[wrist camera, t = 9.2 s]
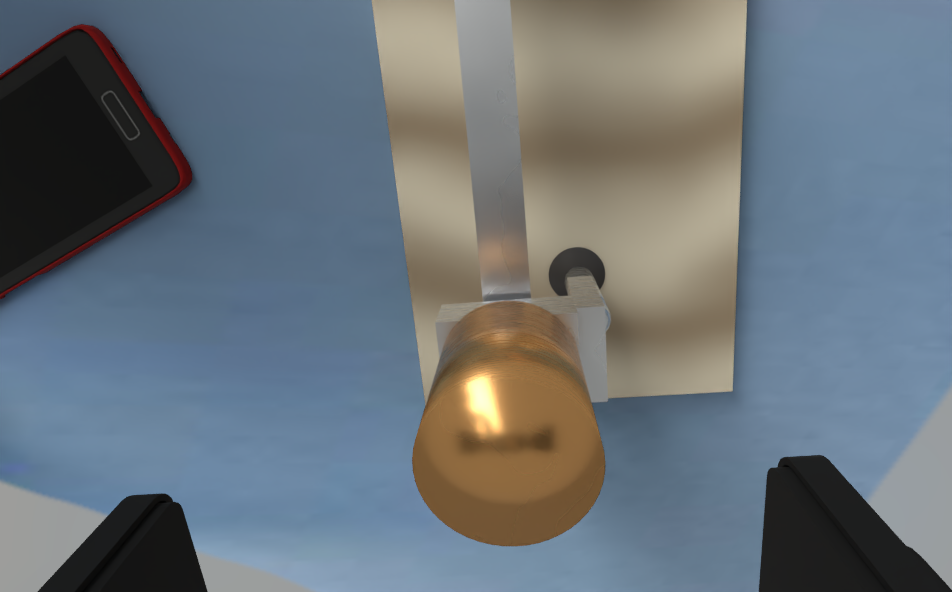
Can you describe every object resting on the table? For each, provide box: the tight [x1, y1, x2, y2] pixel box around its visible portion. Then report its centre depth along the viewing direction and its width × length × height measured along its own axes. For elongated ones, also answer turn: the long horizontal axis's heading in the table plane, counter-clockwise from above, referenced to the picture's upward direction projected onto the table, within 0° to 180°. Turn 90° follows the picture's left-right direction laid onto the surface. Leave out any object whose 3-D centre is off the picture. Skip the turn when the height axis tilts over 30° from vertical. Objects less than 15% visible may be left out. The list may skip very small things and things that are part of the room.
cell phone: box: [0, 24, 192, 299], centre depth 27 cm, size 8×15×1 cm, turn 118°
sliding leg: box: [412, 267, 611, 546], centre depth 19 cm, size 4×5×14 cm
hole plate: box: [372, 0, 747, 405], centre depth 25 cm, size 24×14×2 cm, turn 5°
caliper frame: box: [454, 0, 531, 302], centre depth 20 cm, size 23×6×9 cm, turn 5°
